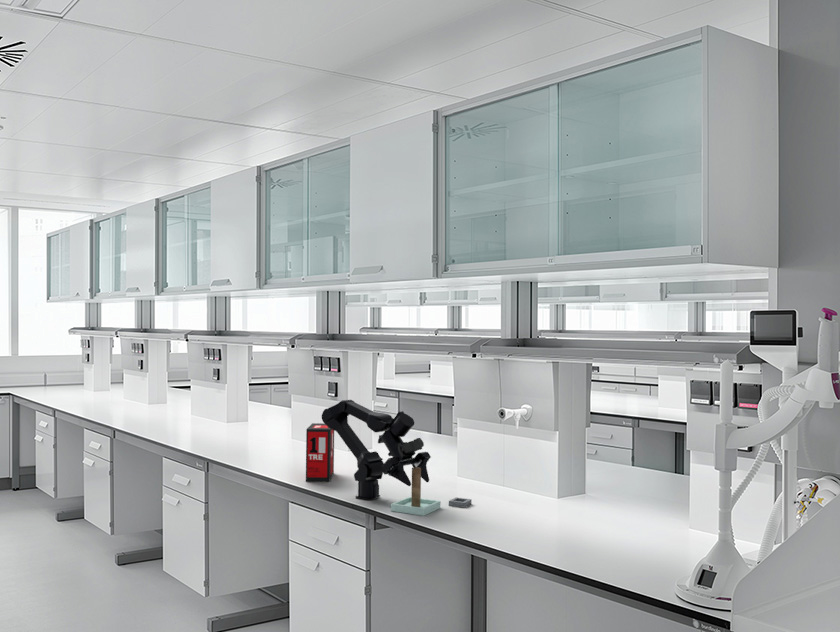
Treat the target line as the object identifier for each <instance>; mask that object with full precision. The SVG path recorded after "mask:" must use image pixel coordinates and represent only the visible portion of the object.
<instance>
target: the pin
mask: <svg viewBox="0 0 840 632" xmlns="http://www.w3.org/2000/svg"><path fill="white" fill-rule="evenodd" d="M421 487H422V477H421V468H420V467H413V466H412V468H411V496H410V497H411V506H413V507H420V506H421V499H422V498H421V496H422V495H421V494H422V491H421V490H422V488H421Z"/></svg>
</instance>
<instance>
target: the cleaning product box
mask: <svg viewBox="0 0 840 632" xmlns="http://www.w3.org/2000/svg"><path fill="white" fill-rule="evenodd" d="M305 438H306V441H305V443H306V445H305V483H307V482H309V483H311V482H312V483H314V482H315V483H329V482H330V481H331V479H332V477H333V475H334V474H335V470H334V469H335V430H333V429H331V428H329V427H328V426H327V425H326V424H325V423H324V422H323V423H321V422H320V423H314V422H313V423H312V422H311V424H310V425H309V426H308V427H306V437H305Z"/></svg>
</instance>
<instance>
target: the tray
mask: <svg viewBox="0 0 840 632" xmlns="http://www.w3.org/2000/svg"><path fill="white" fill-rule="evenodd" d="M411 497H412V496H407V497H405V498H402V499H400V500H397V501H395V502H392V503H391V504H390V512H397V513H401V514H402V513H404V514H410V515H416V516H423V517H424V516H426V515H428V514H430V513H432V512H434V511H436V510H439V509H441V500H436V499H435V500H434V499H428V498H421V506H420V507H413V506H411Z"/></svg>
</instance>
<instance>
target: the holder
mask: <svg viewBox="0 0 840 632" xmlns="http://www.w3.org/2000/svg"><path fill="white" fill-rule="evenodd" d="M470 505H472V499H471V498H463V497H453V498H451V499H449V500H448V506H449V507H456V508H463V509H465V508H467V507H469V506H470Z"/></svg>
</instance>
